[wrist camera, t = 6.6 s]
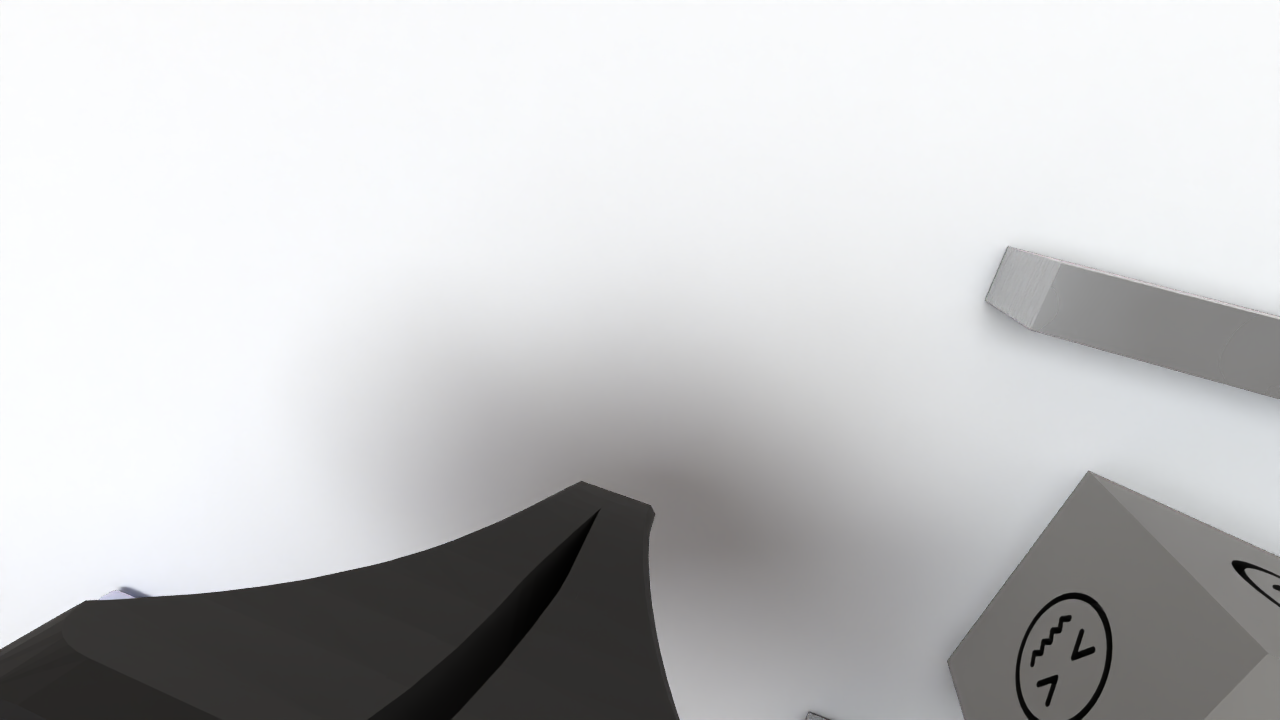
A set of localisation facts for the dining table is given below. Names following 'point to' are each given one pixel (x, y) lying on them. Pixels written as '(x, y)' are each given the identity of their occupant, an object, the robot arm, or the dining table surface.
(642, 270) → the dining table surface
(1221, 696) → the dice cube
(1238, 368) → the bar
